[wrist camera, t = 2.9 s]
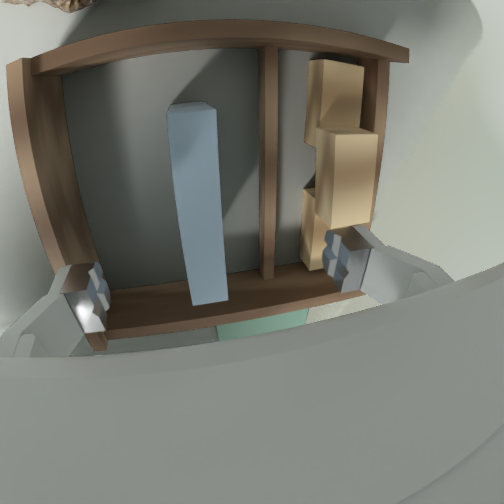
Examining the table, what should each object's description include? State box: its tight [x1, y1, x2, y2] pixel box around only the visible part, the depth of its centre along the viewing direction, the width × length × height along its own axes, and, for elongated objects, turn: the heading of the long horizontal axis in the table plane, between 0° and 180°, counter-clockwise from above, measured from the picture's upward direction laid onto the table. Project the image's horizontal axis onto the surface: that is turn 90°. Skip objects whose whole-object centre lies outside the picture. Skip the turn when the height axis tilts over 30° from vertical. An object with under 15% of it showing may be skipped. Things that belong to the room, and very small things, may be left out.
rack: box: [6, 19, 409, 351], centre depth 17 cm, size 19×22×6 cm
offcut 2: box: [299, 188, 349, 271], centre depth 22 cm, size 6×3×2 cm, turn 1°
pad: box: [216, 308, 308, 341], centre depth 28 cm, size 9×9×1 cm
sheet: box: [167, 101, 228, 306], centre depth 16 cm, size 10×2×7 cm, turn 1°
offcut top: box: [314, 127, 378, 229], centre depth 18 cm, size 6×3×2 cm, turn 3°
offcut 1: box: [304, 59, 364, 148], centre depth 17 cm, size 6×3×2 cm, turn 179°
